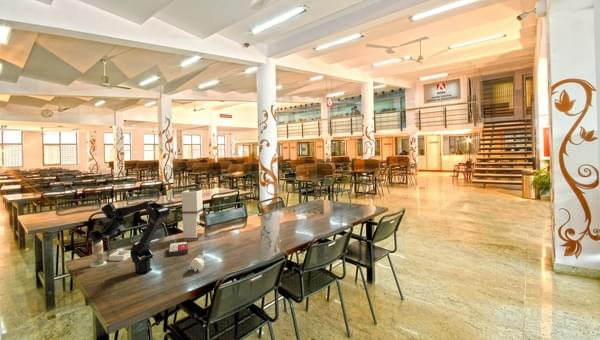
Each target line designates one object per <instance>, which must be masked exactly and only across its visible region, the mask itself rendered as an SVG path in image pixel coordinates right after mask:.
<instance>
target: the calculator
mask: <svg viewBox="0 0 600 340" xmlns="http://www.w3.org/2000/svg"><path fill="white" fill-rule="evenodd" d="M167 254H168V257H169V258H170V257H174V256H175V257H178V256H184V255H188V254H189V246H188V242H187V241H182V242H175V243H169V245H168V253H167Z"/></svg>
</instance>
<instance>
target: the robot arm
mask: <svg viewBox="0 0 600 340" xmlns="http://www.w3.org/2000/svg"><path fill="white" fill-rule="evenodd" d="M144 210H145V211H146V215H148V216H149V223H148V225H147V227H146V229H145V230H144V232H143V235H142V236H141V238H140V240H139V241H137V242H134V243H133V244H132V247H130V250H131V251H130V255H131V260H132V263H134V270H135V272H134V275H135V274H136V275H137V274H138V275H147V274H148V273H149V272H150V271H152V270H153V268H152V266H151V259H153V257H154V254H153V252H152V251H151V249H150V248H151V247H150V243H151V241H152V240H153V238H154V236H155V234H156V232H157V230H158V229H159V227H160V225H161V224H162V223H163V222H165V221H166V220H167V219H168V217H169V216H170V211H169V209H168V208H167V207H166V206H164V205H163V204H161V203H158V202H155V201H154V200H153V199H152V200H145V201H143V202H141V203H137V204H134V205H127V206H121V207H116V206H115V205H114V203H113V202H108V203H107V204H105V205H104V206H102V207H101V208H100V211H101V212H102V213H103V214H104V216H105V217H100V218H99V219H97V220H96V221H95V223H94V224H95V225H96V226H98V227H99V226H100V229H101V230H102V232H100V231H99V230H98V229H97V230H90V231H89V233H88V237H89V238H90V239H91V242H92V241H93V245H96V244H97V243H99V242H101V240H102V241H103V239H104V238H105V237H108V241H112V240H114V239H116V238H119V237H120V236H123V235H124V234H126V233H127V229H126V228H125V226H124V225H127V224H128V223H127V219H126V218H128V217H131V216H132V215H134V214H135V213H137V212H141V211H144Z"/></svg>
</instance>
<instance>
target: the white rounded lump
mask: <svg viewBox="0 0 600 340" xmlns="http://www.w3.org/2000/svg"><path fill="white" fill-rule="evenodd" d="M205 264H206V262H205V258H204V256H203V255H202V254H198V255H197V256H196V257H195V258H193V259H192V261H190V264H189V265H188V266H187V268H189V270H193V271H194V272H200V273H201V272H202V271H203V270H204V269H205V267H206V266H205Z"/></svg>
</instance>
